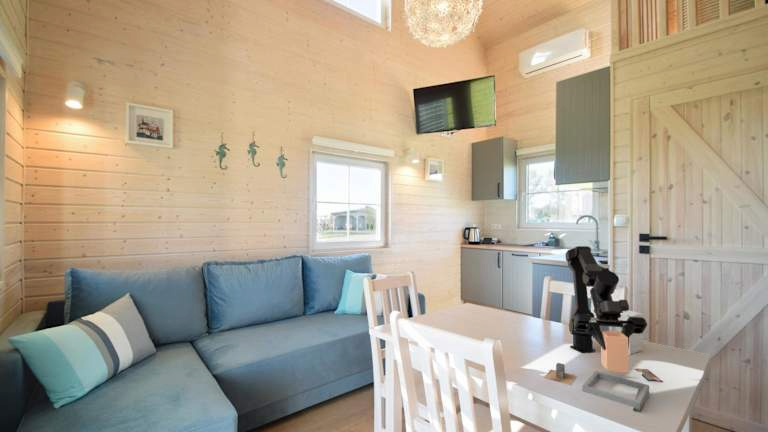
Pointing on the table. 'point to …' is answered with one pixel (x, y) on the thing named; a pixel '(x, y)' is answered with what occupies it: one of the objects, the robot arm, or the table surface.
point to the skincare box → (634, 339)
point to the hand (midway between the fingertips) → (615, 350)
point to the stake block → (560, 375)
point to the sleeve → (615, 351)
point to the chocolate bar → (648, 375)
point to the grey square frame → (637, 404)
